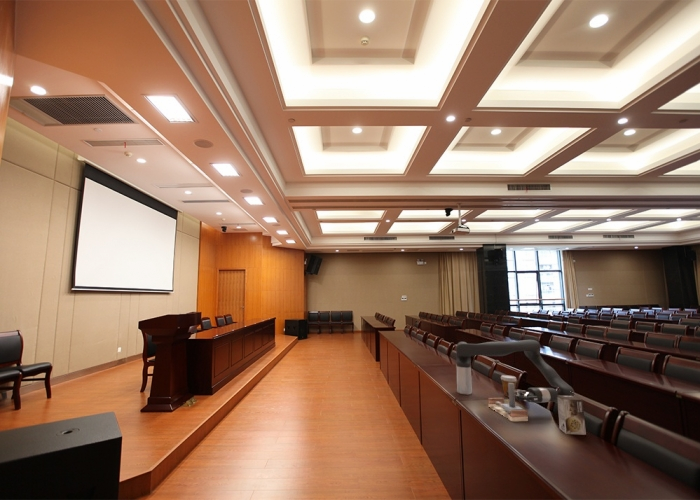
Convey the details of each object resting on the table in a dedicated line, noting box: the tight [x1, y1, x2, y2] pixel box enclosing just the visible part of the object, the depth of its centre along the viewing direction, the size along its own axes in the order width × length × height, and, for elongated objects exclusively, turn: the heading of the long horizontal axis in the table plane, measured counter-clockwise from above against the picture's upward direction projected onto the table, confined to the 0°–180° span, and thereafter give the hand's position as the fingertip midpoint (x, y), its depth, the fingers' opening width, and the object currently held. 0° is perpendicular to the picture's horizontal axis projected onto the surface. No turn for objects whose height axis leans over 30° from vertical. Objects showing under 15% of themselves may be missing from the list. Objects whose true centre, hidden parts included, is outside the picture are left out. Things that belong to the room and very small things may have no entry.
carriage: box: [502, 383, 524, 413], centre depth 177 cm, size 8×7×15 cm
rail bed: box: [487, 397, 529, 422], centre depth 181 cm, size 22×9×5 cm, turn 8°
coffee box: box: [557, 395, 587, 436], centre depth 158 cm, size 9×6×16 cm
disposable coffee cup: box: [500, 374, 517, 398], centre depth 214 cm, size 10×10×12 cm
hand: (511, 395), depth 177 cm, fingers open, 8 cm apart
